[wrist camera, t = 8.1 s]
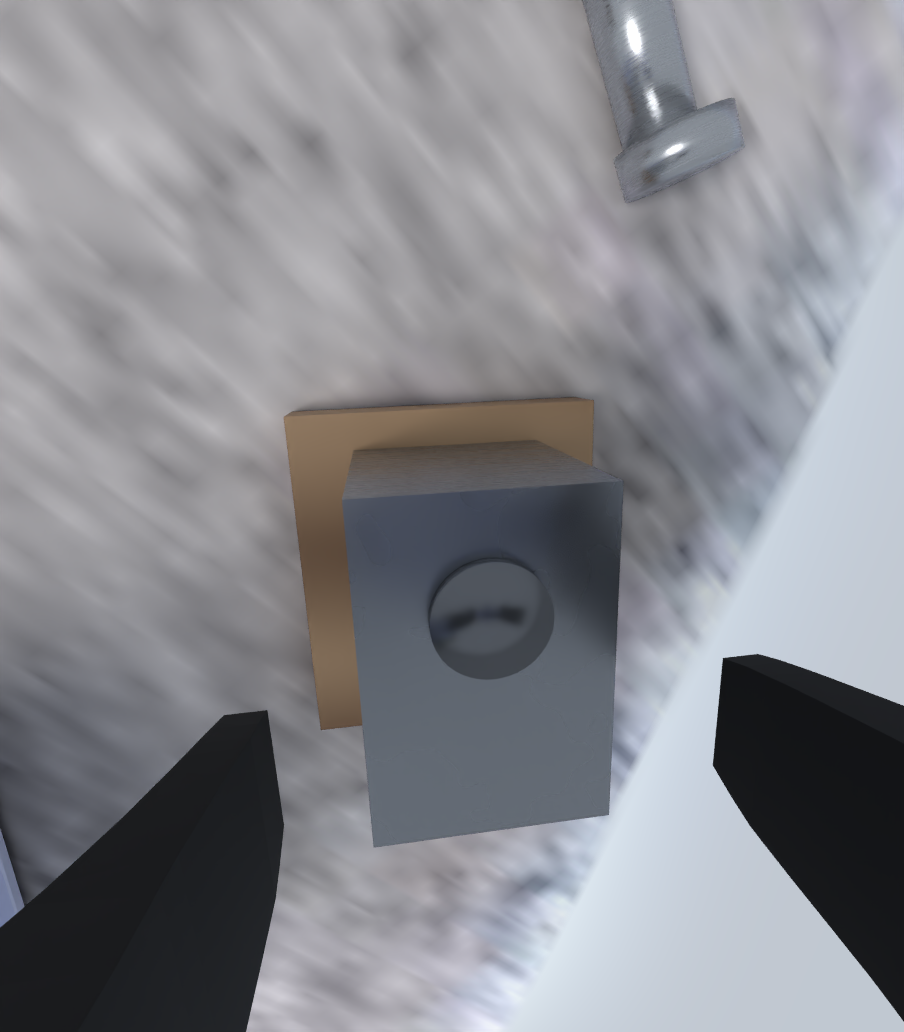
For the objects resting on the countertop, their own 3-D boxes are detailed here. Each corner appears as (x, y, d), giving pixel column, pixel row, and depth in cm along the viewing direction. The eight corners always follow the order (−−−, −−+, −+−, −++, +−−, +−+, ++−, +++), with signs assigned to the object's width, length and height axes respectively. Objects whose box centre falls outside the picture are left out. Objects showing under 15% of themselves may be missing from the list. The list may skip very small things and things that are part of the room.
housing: (535, 674, 17) (615, 826, 11) (373, 691, 16) (373, 860, 11) (536, 439, 15) (630, 484, 10) (353, 450, 14) (340, 503, 9)
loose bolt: (702, 172, 15) (772, 131, 13) (607, 212, 15) (657, 180, 13) (641, -87, 14) (707, -199, 11) (534, -43, 14) (573, -143, 11)
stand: (570, 673, 19) (586, 699, 17) (325, 700, 18) (321, 729, 16) (574, 397, 16) (593, 400, 15) (292, 412, 15) (283, 416, 14)
